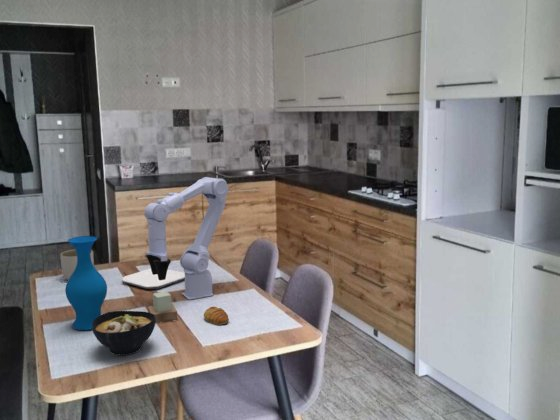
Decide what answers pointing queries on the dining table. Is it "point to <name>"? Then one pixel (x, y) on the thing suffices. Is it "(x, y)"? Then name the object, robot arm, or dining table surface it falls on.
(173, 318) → the base block
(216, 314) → the pastry
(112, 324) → the bowl
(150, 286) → the plate
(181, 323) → the dining table surface
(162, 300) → the green block
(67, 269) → the planter
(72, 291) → the vase
